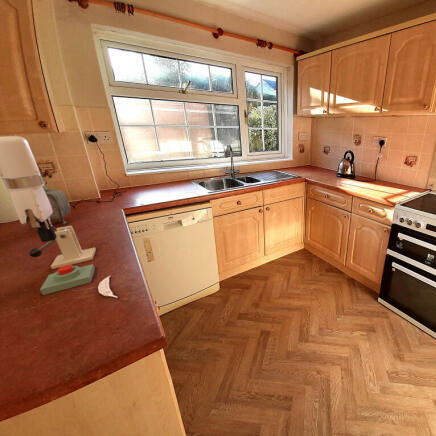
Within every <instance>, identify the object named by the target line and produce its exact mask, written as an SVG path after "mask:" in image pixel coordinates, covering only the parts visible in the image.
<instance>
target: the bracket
mask: <svg viewBox="0 0 436 436" xmlns="http://www.w3.org/2000/svg"><path fill="white" fill-rule="evenodd" d="M65 228H67V229H68V230H64V229H65ZM70 231H71V232H72V233H71V232H70ZM54 232H55V234H56V236H57V238H56V244H57V245H58V247H59V251H60V252H61V254H58V255H57V256H56V257H55V259H54V260H53V262H52V263H51V265H50V268H51V270H55V269H59V268H60V267H62V266H65V265H76V264H80V263H84V262H88V261H91V260H93V259H94V257H95V254H96V251H97V249H96V247H90V248H86V249H82V247H81V244H80V242H79V239H78V237H77V234H76V233H75V230H74V227H73V226H72V225H67V226H62V227H57V228H56V230H55V231H54Z"/></svg>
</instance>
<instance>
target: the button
mask: <svg viewBox="0 0 436 436" xmlns="http://www.w3.org/2000/svg"><path fill="white" fill-rule="evenodd" d="M72 266H73V264H71V265H65V266H62V267H59V268H57V271H58V272H59V274H60V275H65V274H68V273H70V272H72V271H73V270H74V269H73V267H72Z"/></svg>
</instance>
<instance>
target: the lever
mask: <svg viewBox="0 0 436 436" xmlns="http://www.w3.org/2000/svg"><path fill="white" fill-rule="evenodd" d="M64 230H68V229H67V228H65V229H64ZM70 232H71V231H70ZM71 233H72V232H71ZM54 243H57V241H56V239H55V240H53V241H47V243H44V244H43V245H42V246H40V247H39V248H38V247H37V248H35V247H34V248H32V249H30V251H29V252H28V253H29V256H30V257H32V258H38V257H41V256H42V254H43V251H44V250H45V249H47V248H49V247H50V246H52V245H53V244H54Z"/></svg>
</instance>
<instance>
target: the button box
mask: <svg viewBox="0 0 436 436" xmlns="http://www.w3.org/2000/svg"><path fill="white" fill-rule="evenodd" d="M72 267H73V269H74V270H73V271H72V272H70V273H68V274H65V275H60V274H59V272H58V270H57V271H55V272H54V273H51V274H48V275H47V277H46V279H45V281H44V282H43V283H42V285H41V287H40V288H39V291H40V293H41V294H42V296H45V295H49V294H52V293H57V292H60V291H64V290H67V289H71V288H75V287H78V286H82V285H86V284H89V283H92V280H93V277H94V274H95V270H96V268H95V265H94V264H93V263H92V264H88V265H84V266H78V265H72Z"/></svg>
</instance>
